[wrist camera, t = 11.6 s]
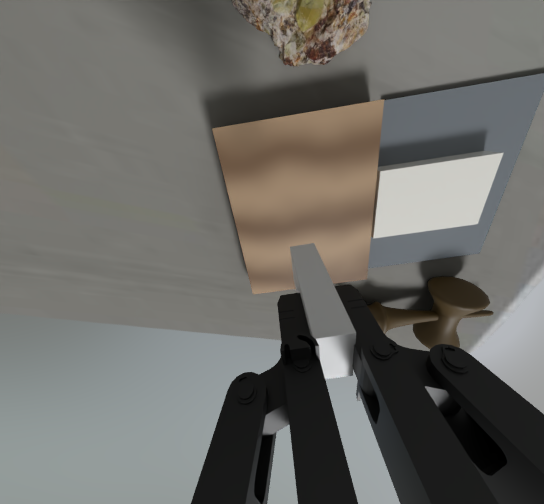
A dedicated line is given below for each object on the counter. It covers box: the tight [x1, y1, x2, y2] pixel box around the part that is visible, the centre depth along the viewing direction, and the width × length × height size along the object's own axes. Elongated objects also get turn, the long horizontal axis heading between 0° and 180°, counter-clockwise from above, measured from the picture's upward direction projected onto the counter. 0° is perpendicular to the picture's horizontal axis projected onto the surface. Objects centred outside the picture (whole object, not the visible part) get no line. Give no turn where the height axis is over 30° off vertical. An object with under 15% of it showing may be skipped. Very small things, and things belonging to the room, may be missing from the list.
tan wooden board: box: [212, 99, 384, 294], centre depth 23 cm, size 18×14×2 cm
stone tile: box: [371, 151, 503, 239], centre depth 22 cm, size 7×11×2 cm, turn 98°
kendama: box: [367, 276, 493, 349], centre depth 29 cm, size 6×10×20 cm
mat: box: [368, 73, 544, 268], centre depth 23 cm, size 18×14×1 cm
